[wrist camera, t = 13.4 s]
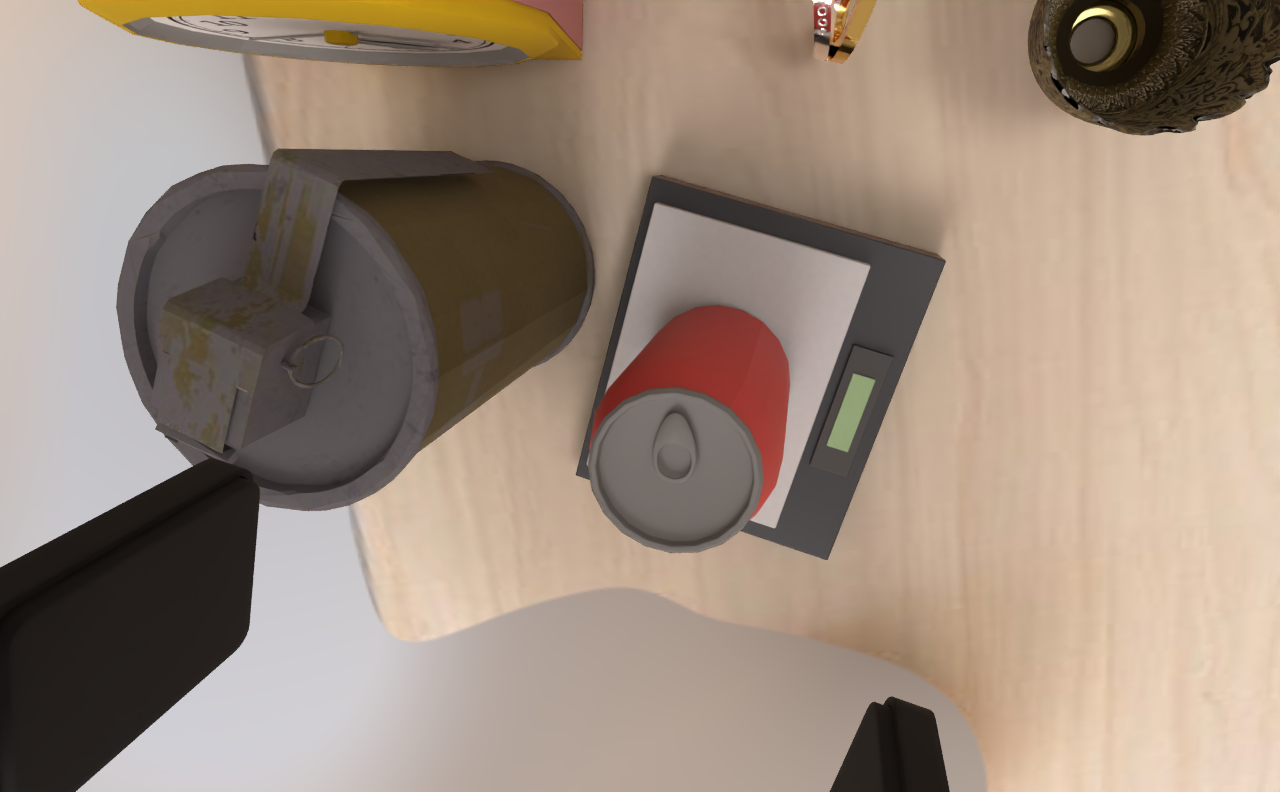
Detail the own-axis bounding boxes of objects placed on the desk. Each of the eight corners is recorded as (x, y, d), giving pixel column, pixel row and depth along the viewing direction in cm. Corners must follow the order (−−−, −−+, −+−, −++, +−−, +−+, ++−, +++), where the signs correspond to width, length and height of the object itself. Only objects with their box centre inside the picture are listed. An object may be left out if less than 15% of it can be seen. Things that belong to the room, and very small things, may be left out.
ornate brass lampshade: (1237, 52, 30) (1376, 18, 23) (1059, 177, 33) (1131, 184, 25) (1129, -110, 30) (1236, -200, 22) (955, 31, 32) (998, -7, 25)
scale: (660, 174, 36) (649, 176, 34) (939, 254, 35) (948, 262, 32) (586, 461, 41) (571, 480, 39) (826, 541, 40) (827, 567, 37)
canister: (552, 403, 41) (329, 614, 22) (375, 319, 41) (14, 454, 23) (630, 205, 37) (441, 255, 18) (434, 117, 38) (58, 78, 19)
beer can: (796, 306, 34) (788, 380, 23) (785, 448, 36) (773, 581, 25) (647, 298, 35) (570, 364, 24) (644, 436, 37) (572, 556, 26)
